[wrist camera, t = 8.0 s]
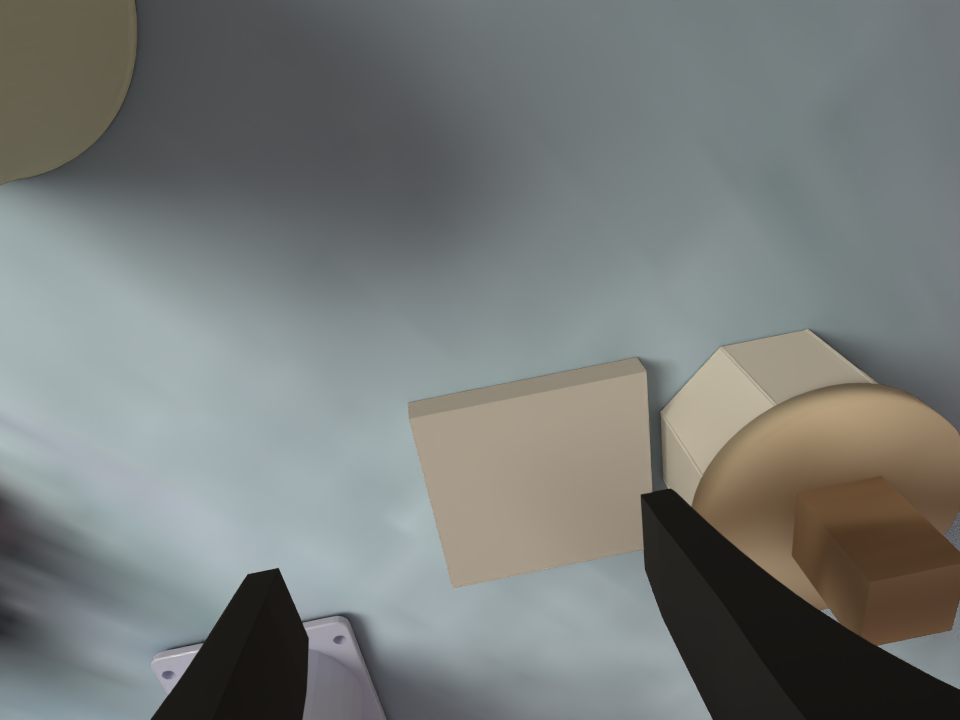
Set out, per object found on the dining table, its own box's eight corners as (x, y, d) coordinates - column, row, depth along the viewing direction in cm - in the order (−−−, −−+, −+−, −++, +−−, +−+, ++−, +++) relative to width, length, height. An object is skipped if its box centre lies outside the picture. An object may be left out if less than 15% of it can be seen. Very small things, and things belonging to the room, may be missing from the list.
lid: (922, 563, 24) (1028, 676, 20) (691, 611, 23) (750, 734, 19) (968, 357, 19) (1114, 448, 16) (688, 413, 19) (763, 519, 15)
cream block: (646, 529, 27) (655, 547, 26) (451, 568, 27) (452, 588, 26) (636, 357, 23) (646, 371, 22) (408, 402, 23) (408, 419, 22)
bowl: (847, 484, 27) (914, 556, 23) (663, 521, 27) (704, 600, 23) (869, 316, 23) (954, 372, 20) (657, 358, 23) (704, 422, 20)
